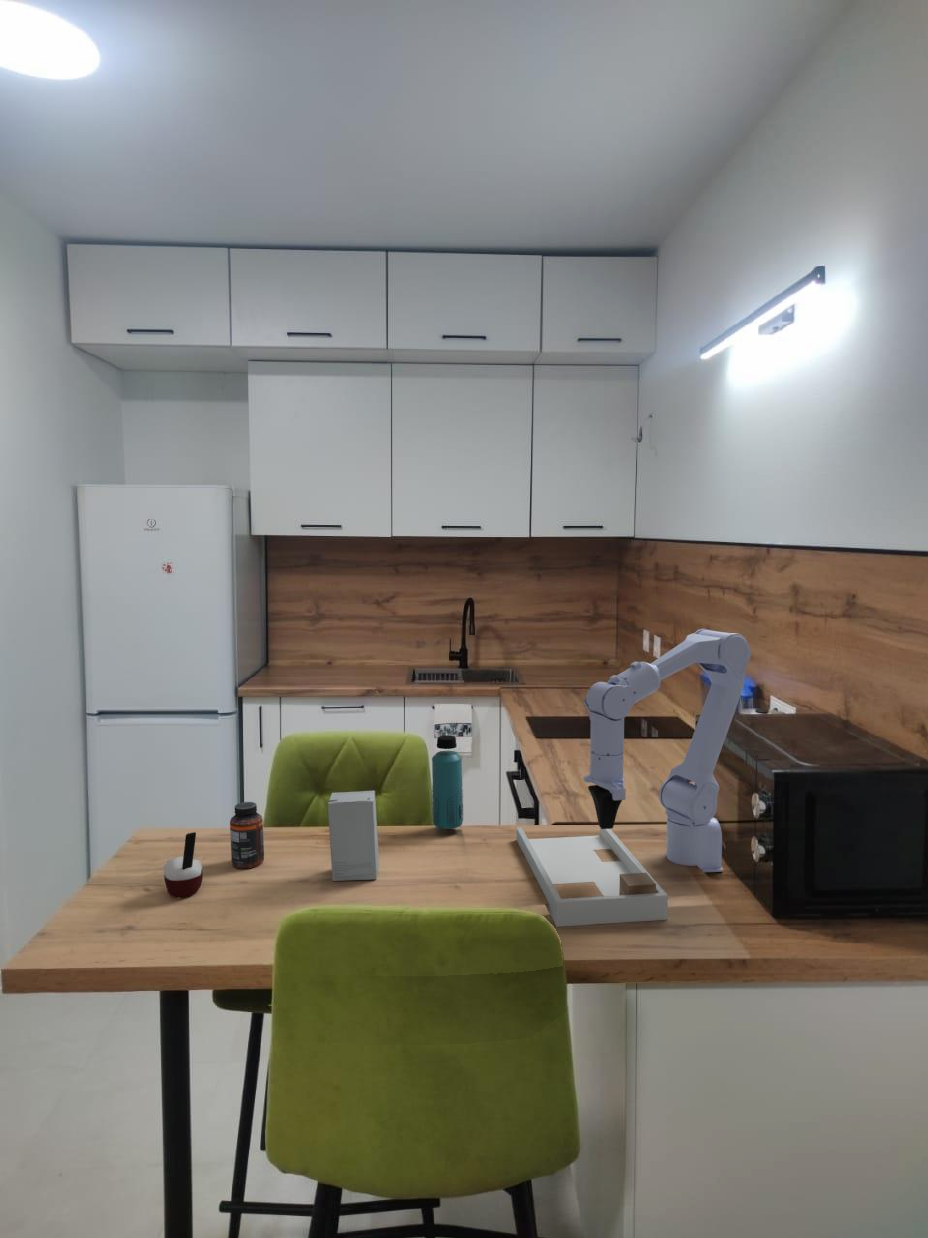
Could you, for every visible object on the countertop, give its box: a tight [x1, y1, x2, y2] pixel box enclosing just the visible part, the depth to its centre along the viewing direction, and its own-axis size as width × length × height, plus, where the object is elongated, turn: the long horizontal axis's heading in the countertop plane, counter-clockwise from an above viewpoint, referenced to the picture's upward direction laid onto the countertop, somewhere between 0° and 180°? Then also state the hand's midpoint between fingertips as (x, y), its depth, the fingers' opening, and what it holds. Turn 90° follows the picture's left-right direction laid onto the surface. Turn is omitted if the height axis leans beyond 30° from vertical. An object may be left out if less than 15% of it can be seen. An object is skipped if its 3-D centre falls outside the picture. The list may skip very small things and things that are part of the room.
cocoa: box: [163, 831, 204, 899], centre depth 136 cm, size 10×6×12 cm, turn 16°
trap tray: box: [516, 826, 669, 928], centre depth 141 cm, size 18×33×4 cm, turn 7°
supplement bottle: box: [229, 801, 265, 869], centre depth 149 cm, size 6×6×11 cm
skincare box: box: [327, 790, 380, 882], centre depth 143 cm, size 8×6×15 cm
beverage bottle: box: [431, 735, 464, 830], centre depth 165 cm, size 6×7×20 cm
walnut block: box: [619, 873, 656, 895], centre depth 128 cm, size 4×4×4 cm
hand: (606, 827), depth 139 cm, fingers closed
